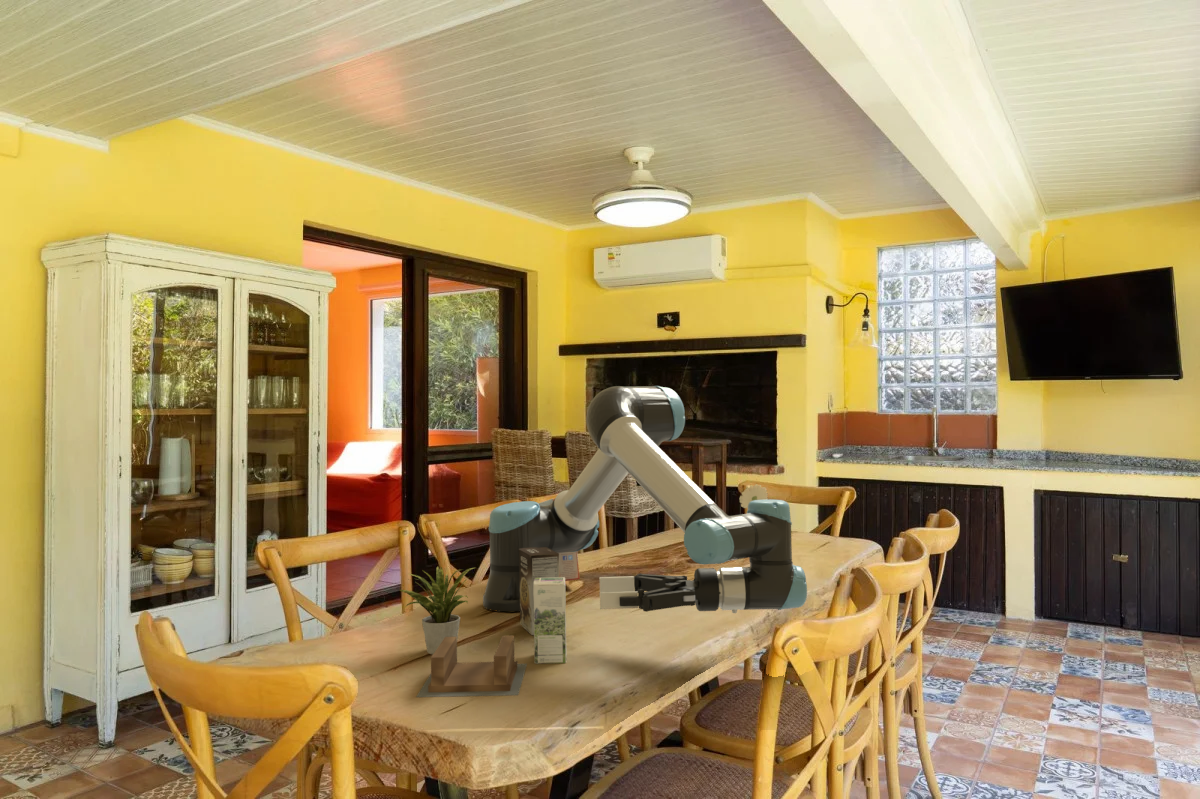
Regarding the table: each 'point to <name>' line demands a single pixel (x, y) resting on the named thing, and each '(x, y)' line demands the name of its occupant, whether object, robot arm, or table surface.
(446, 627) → the house plant
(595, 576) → the table surface
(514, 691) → the mat
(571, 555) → the cracker box
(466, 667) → the rack
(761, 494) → the flower in vase
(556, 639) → the syrup box
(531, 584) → the coffee box
